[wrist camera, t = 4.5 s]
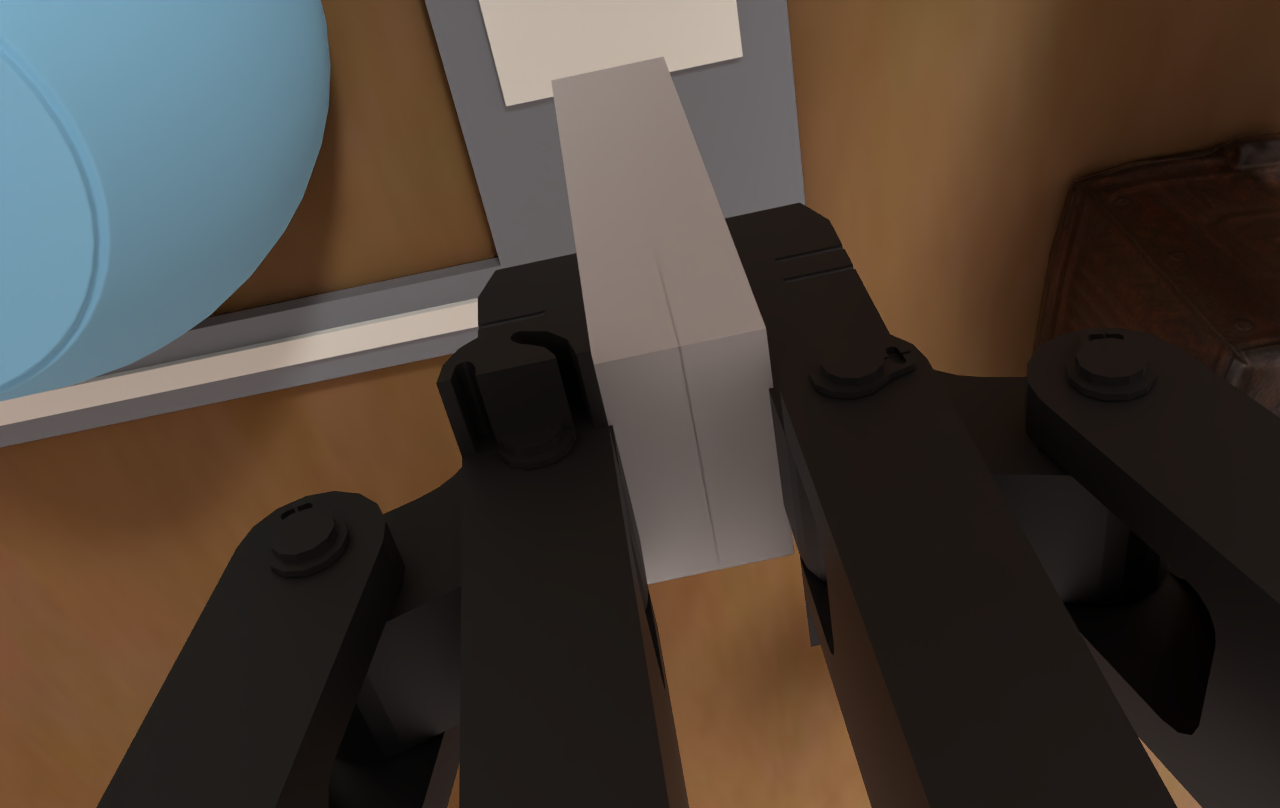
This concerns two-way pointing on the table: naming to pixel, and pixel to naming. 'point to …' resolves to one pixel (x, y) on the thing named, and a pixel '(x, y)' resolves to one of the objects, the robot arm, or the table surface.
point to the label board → (482, 196)
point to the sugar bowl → (144, 169)
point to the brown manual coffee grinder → (1178, 259)
